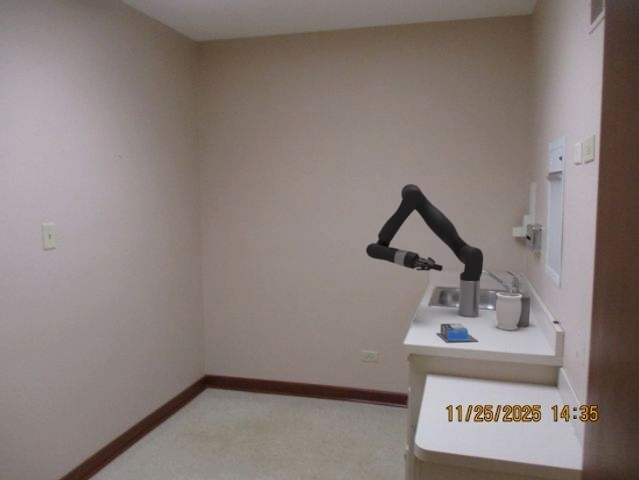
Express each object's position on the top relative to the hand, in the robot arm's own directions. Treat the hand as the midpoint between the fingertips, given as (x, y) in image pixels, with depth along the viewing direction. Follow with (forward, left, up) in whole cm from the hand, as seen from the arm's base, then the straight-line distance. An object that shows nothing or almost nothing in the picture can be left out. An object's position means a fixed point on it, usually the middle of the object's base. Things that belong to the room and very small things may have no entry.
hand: (441, 268), depth 209 cm
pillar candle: (+1, +36, -26) cm, 44 cm away
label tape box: (+11, 0, -24) cm, 26 cm away
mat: (+18, 0, -26) cm, 31 cm away
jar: (+6, +28, -26) cm, 39 cm away
